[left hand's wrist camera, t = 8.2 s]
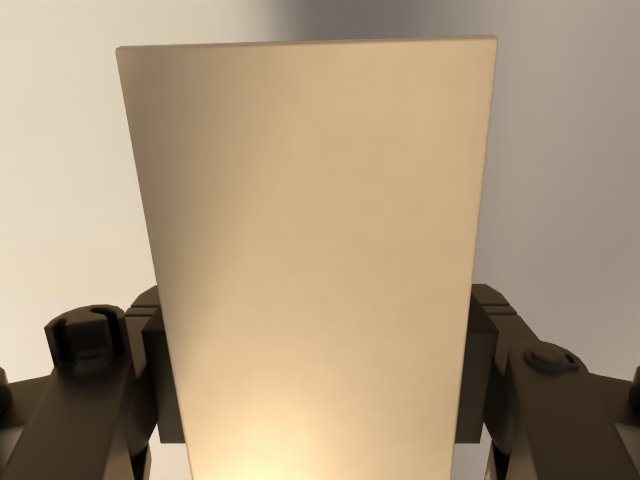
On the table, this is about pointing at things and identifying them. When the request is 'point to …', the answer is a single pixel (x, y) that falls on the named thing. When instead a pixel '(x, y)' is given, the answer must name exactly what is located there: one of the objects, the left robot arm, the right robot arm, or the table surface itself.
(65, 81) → the table surface
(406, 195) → the beam
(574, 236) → the table surface
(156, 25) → the table surface
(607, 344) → the table surface
